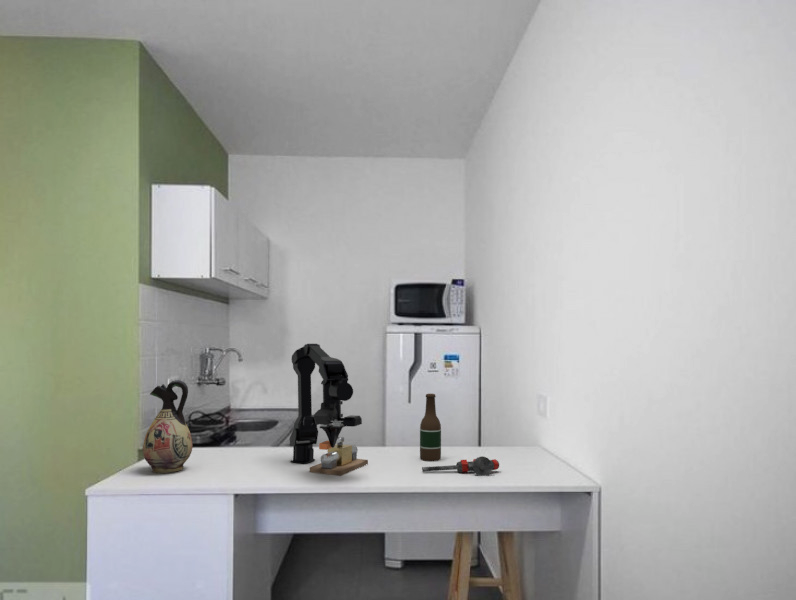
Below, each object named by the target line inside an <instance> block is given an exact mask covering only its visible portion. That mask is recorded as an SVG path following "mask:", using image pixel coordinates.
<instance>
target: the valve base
mask: <svg viewBox="0 0 796 600" xmlns="http://www.w3.org/2000/svg"><path fill="white" fill-rule="evenodd" d="M357 454H358V447H357V446H356V444H344V442H339V443H337V444H335V447H334V448H330V449H327V453H324V454H322V455H321V456H320V463H318V464H314V465H312V466H309V473H315V474H324V475H332V476H343V475H346V474H349V473H351V472H354V471H355V469H356V470H357V468H358V469H359V467H360V468H363V467H365V466H367V465H369V459H364V458H363V459H362V458H357V456H358V455H357ZM366 464H367V465H366ZM364 465H365V466H364ZM362 466H363V467H362Z"/></svg>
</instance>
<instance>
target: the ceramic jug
mask: <svg viewBox="0 0 796 600" xmlns="http://www.w3.org/2000/svg"><path fill="white" fill-rule="evenodd" d="M176 387H178V388H180V389H181V392H182V393H181V397H180V401H179V404H178V407H177V408H176V406H175V402H174V401H177V400H178V399H179V397H178V395H177V394H176V392H175V391H174V390H173V389H174V388H176ZM188 393H189V387H188V385H187V383H185V382H184V381H182V380H179V379H176V380H172V381H170V382H169V383H168V384H167V385H165V384H161V385H157V386H155V388H153V389H152V390H151V392H150V393H149V395H151V396H153V397H156V398H157V399H160V400H161V401H162V408H161V409H160V410H159V412H158V414H157V415H156V416H155V418H154V420H153V421H152V422H151V424H150V426H149V427H148V429H147V431H146V433H145V437H144V440H143V444H142V453H143V454H142V455H143V458H144V460H145V461H146V463H147V464H148V465H149V466H150V468H151V469H152V473H155V474H167V473H168V474H169V473H176V472H180V471H182V470H183V469H184V464H185V463H186V462H187V460H188V459H189V458H190V456H191V454H192V452H193V438H192V433H191V431H190V429H189V426H188V425H187V423H186V420H185V417H184V413H183V411H184V407H185V404H186V401H187V399H188Z"/></svg>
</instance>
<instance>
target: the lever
mask: <svg viewBox="0 0 796 600" xmlns="http://www.w3.org/2000/svg"><path fill="white" fill-rule="evenodd" d="M339 442H343V443H344V442H345V437H343V436H342V437H341V436H338V439H337V441H336V444H337V443H339ZM336 444H335V445H336ZM330 448H332V447H331V445H330V442H329V440H325V441H323V442H319V444H318V450H324V451H325V450H326V451H328V449H330Z"/></svg>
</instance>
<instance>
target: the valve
mask: <svg viewBox="0 0 796 600" xmlns="http://www.w3.org/2000/svg"><path fill="white" fill-rule="evenodd" d="M499 462H500V461H498V459H495V458H494V459H489V458H488V457H487V456H479V457H476V458H473V460H472V461H471V460H470V461H468V460H467V459H460V461H457V462H456V465H453V464H452V465H437V466H436V465H435V466H422V467H421V470H422V472H434V471H435V472H436V471H453V470H456V471H457V472H458V473H461V474H468V473H469V472H474V474H475V475H477V477H487V476H489V475H491V473H492V471H495V470H498V469H499V468H500V463H499Z"/></svg>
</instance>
